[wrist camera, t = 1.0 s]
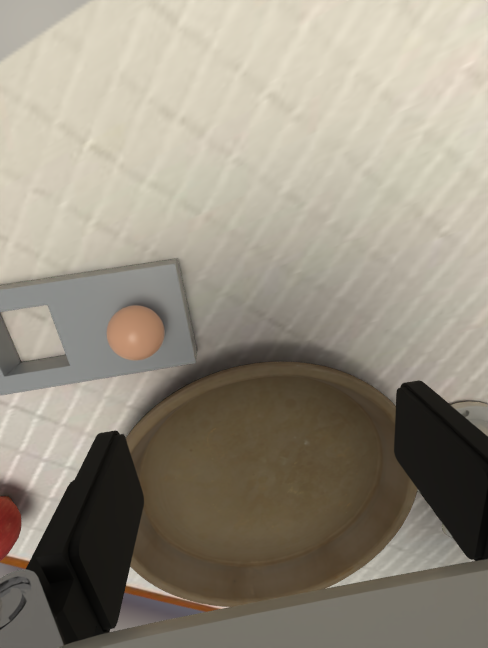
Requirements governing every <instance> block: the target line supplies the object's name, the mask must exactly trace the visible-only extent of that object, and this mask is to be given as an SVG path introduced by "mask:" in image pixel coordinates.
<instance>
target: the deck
mask: <svg viewBox="0 0 488 648" xmlns="http://www.w3.org/2000/svg"><path fill="white" fill-rule="evenodd" d="M43 305H48V308H49V310H50V313H51V316H52V318H53V321H54V324H55V327H56V329H57V332H58V335H59V337H60V340H61V343H62V345H63V348H64V351H65V354H66V355H63V356H57V357H51V358H44V359H38V360H32V361H26V362H21V361H20V358H19V356H18V354H17V351H16V349H15V347H14V344H13V342H12V340H11V337H10V335H9V333H8V331H7V328H6V326H5V324H4V321H3V319H2V317H1V314H0V395H7V394H13V393H19V392H25V391H31V390H37V389H43V388H49V387H55V386H61V385H67V384H73V383H79V382H85V381H91V380H97V379H103V378H109V377H115V376H121V375H127V374H133V373H139V372H146V371H152V370H158V369H164V368H170V367H176V366H182V365H188V364H194V363H196V356H197V348H196V343H195V339H194V334H193V329H192V324H191V319H190V314H189V309H188V305H187V300H186V295H185V290H184V285H183V280H182V275H181V271H180V266H179V261H178V258H177V259H170V260H164V261H157V262H150V263H144V264H137V265H130V266H124V267H117V268H110V269H104V270H97V271H91V272H84V273H77V274H71V275H64V276H57V277H51V278H44V279H37V280H31V281H24V282H17V283H11V284H4V285H0V312H4V311H10V310H17V309H23V308H30V307H36V306H43ZM133 305H138V306H144V307H147V308H149V309H151V310H153V311H154V312H155V313H156V314H157V315H158V316H159V317H160V319H161V320H162V322H163V325H164V330H165V335H164V340H163V343H162V345H161V347H160V348H159V350H158V351H157V352H156V353H155V354H153V355H152V356H150V357H148V358H146V359H143V360H128V359H124V358H122V357H120V356H119V355H117V354H116V353H115V352H114V351H113V350H112V348H111V347H110V345H109V343H108V340H107V334H106V333H107V326H108V323H109V321H110V319H111V318H112V316H113V315H114V314H115V313H116V312H118V311H119V310H120V309H122V308H125V307H128V306H133Z"/></svg>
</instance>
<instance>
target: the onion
mask: <svg viewBox="0 0 488 648" xmlns="http://www.w3.org/2000/svg"><path fill="white" fill-rule="evenodd" d="M20 531H21V514H20V512H19V510H18V508H17V506H16V505H15V504H14V503H13V502H12V500H11V499H10V498H9V497H8V496H1V497H0V561H1V560H2V559H3V558H4V557H5V556H6V555H7V554H8V553H9V551H10V550H11V548H12V547H13V545H14V544H15V542H16V541H17V539H18V537H19V534H20Z"/></svg>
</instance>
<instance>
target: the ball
mask: <svg viewBox="0 0 488 648" xmlns="http://www.w3.org/2000/svg"><path fill="white" fill-rule="evenodd" d="M106 334H107V340H108V343H109V345H110V347H111V348H112V350H113V351H114V352H115V353H116V354H117V355H119V356H120V357H122V358H124V359H128V360H143V359H146V358H148V357H150V356H152V355H153V354H155V353H156V352H157V351H158V350H159V348H160V347H161V345H162V343H163V340H164V335H165V330H164V325H163V322H162V320H161V319H160V317H159V316H158V315H157V314H156V313H155V312H154V311H153V310H151V309H149V308H147V307H144V306H138V305H133V306H128V307H125V308H122V309H120V310H119V311H118V312H116V313H115V314H114V315H113V316H112V318H111V319H110V321H109V323H108V326H107V333H106Z"/></svg>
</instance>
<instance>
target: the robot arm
mask: <svg viewBox="0 0 488 648" xmlns="http://www.w3.org/2000/svg"><path fill="white" fill-rule="evenodd" d="M394 454H395V457H396V459H397V461H398V463H399V464H400V465H401V467H402V468H403V469H404V471H405V472H406V474H407V475H408V476H409V478H410V479H411V480H412V482H413V483H414V485H415V486H416V487H417V489H418V490H417V491H418V492H420V493H421V494H422V496H423V497H424V498H425V500H426V501H427V503H428V504H429V505H430V507H431V508H432V509H433V511H434V512H435V514H436V515H437V516H438V518H439V519H440V520H441V522H442V530H443V531H444V533H445V534H446V535H448V536H449V537H452V538H454V540H455V541H456V542H457V544H458V545H459V547H460V548H461V549H462V551H463V552H464V553H465V555H466V556H467V557H468V558H469V559H474V560H475V561H473V562H467V563H461V564H455V565H450V566H445V567H439V568H434V569H428V570H423V571H418V572H412V573H407V574H401V575H396V576H391V577H385V578H380V579H374V580H369V581H364V582H359V583H353V584H348V585H343V586H338V587H332V588H327V589H322V590H317V591H311V592H306V593H301V594H296V595H291V596H286V597H280V598H275V599H270V600H265V601H260V602H255V603H249V604H244V605H239V606H234V607H229V608H224V609H219V610H214V611H209V612H204V613H199V614H194V615H189V616H184V617H179V618H174V619H169V620H164V621H159V622H155V623H150V624H146V625H141V626H137V627H132V628H127V629H123V630H118V631H114V632H109V631H110V629H112V628H115V626H116V624H117V621H118V617H119V613H120V609H121V604H122V599H123V595H124V591H125V587H126V582H127V578H128V573H129V569H130V564H131V560H132V555H133V551H134V547H135V542H136V538H137V533H138V529H139V524H140V520H141V516H142V511H143V507H144V495H143V491H142V488H141V485H140V482H139V479H138V475H137V472H136V469H135V466H134V463H133V460H132V457H131V454H130V450H129V447H128V444H127V441H126V438H125V436H124V434H120V435H119V432H118V431H110V432H104V433H99V434H98V435H97V436H96V438H95V440H94V442H93V444H92V446H91V448H90V450H89V452H88V454H87V456H86V458H85V460H84V462H83V464H82V466H81V468H80V470H79V472H78V474H77V476H76V478H75V480H74V481H72V482H71V483H70V484H69V486H68V487H67V489H66V491H65V493H64V495H63V497H62V499H61V501H60V503H59V505H58V507H57V509H56V511H55V513H54V515H53V517H52V519H51V521H50V523H49V525H48V527H47V529H46V531H45V533H44V534H43V536H42V538H41V540H40V542H39V544H38V546H37V548H36V550H35V552H34V554H33V556H32V558H31V560H30V562H29V564H28V566H27V568H26V570H17V571H15V572H12V573H9V574H7V575H5V576H4V577H2V578H0V648H488V404H485V403H481V402H469V401H468V402H461V403H455V404H452V405H450V404H449V403H447V402H446V401H445V400H444V399H443V398H441V397H440V396H439V395H438V394H437V393H435V392H434V391H433V390H432V389H431V388H429V387H428V386H427V385H426V384H425V383H423V382H422V381H413V382H407V383H403V384H402V385H401V388H398V389H397V394H396V416H395V437H394Z"/></svg>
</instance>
